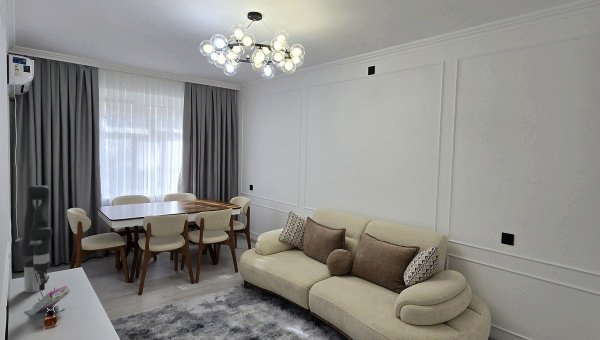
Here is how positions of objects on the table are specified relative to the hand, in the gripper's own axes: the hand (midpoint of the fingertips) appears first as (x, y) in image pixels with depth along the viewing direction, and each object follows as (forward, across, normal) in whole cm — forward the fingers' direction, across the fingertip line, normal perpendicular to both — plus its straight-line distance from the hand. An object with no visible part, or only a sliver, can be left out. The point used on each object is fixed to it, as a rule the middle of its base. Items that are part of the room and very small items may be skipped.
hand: (42, 289), depth 195 cm
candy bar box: (+10, 0, 0) cm, 10 cm away
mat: (+12, +2, 0) cm, 12 cm away
